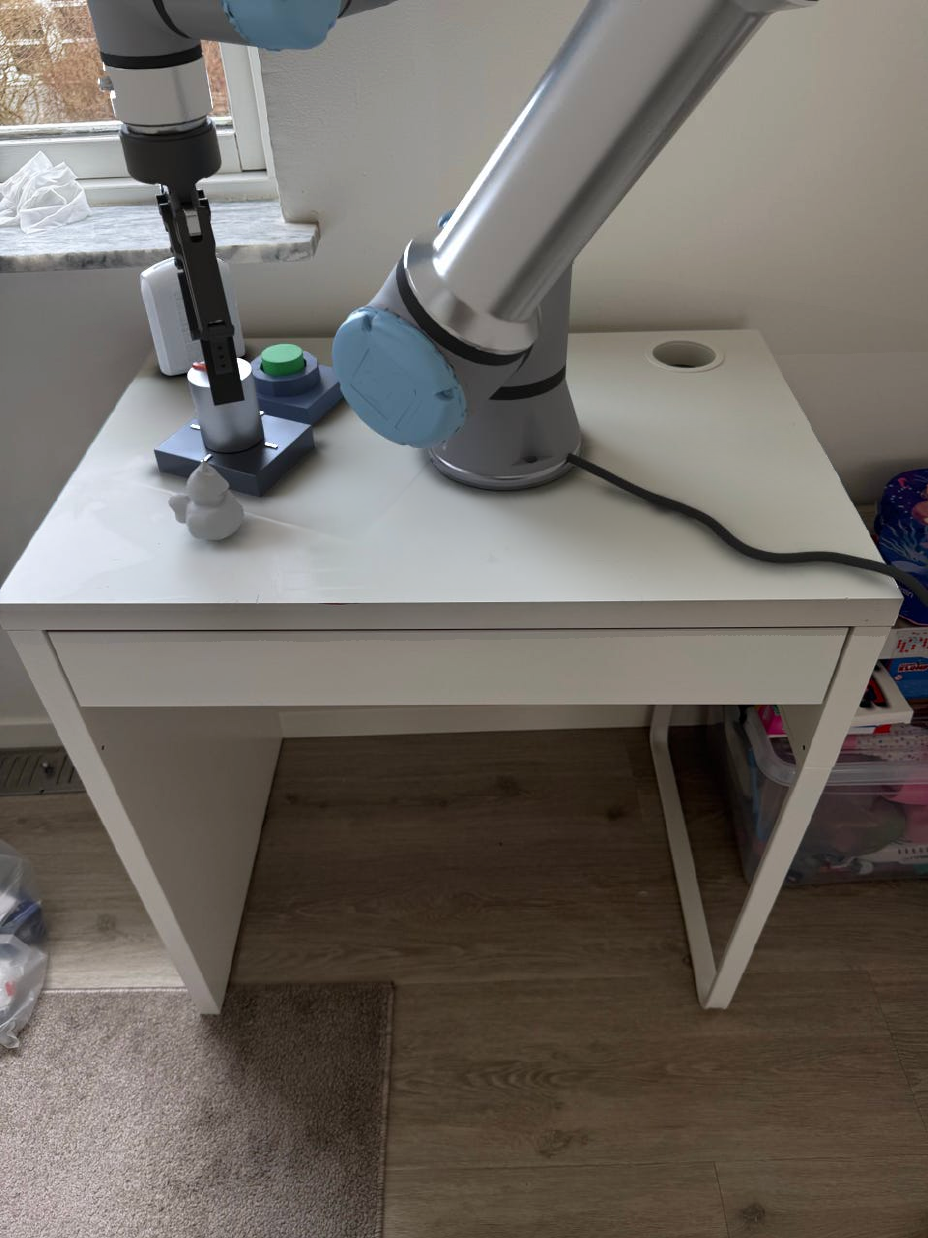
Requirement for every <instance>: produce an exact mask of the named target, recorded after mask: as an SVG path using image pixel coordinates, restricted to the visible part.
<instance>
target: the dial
mask: <svg viewBox="0 0 928 1238" xmlns="http://www.w3.org/2000/svg"><path fill="white" fill-rule="evenodd" d="M237 361H238V367H239V372H240V377H241V382H242V388H243V393H244V398H245V401H239V402H234V403H228V404H223V405H218V406H214V403H213V399H212V395H211V390H210V385H209V381H208V376H207V371H206V367H205V362H204V361H203V362H201V363H197V362H195V363H194V364H192V367H193V368H191V369H190V371H189V372H187V376H186V377H187V381H188V385H189V390H190V394H191V398H192V403H193V407H194V411H195V415H196V416H197V419H198V423H199V428H200V432H201V436H202V440H203V443H204V445H205V446H206V447H207V448H209V449H210V450H213V451H216V452H223V453H231V452H239V451H243V450H246V449H249V448H251V447H253V446H255V445H256V444H258V443H259V442H260V441H261V440H262V438H263V436H264V429H263V424H262V419H261V414H260V408H259V403H258V398H257V392H256V387H255V382H254V376H253V371H252V367H251V365H250V362H248V360H245V359H242V358H240V357H239V358H237Z"/></svg>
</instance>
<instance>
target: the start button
mask: <svg viewBox="0 0 928 1238" xmlns="http://www.w3.org/2000/svg"><path fill="white" fill-rule="evenodd" d="M302 351H303V349H302V348H301V347H300V346H299V345H296V344H291V343H278V344H274V345H270V346H268V347H266V348H265V349H263V350H262V351H261V353H260V355H261V359H262V365H263V370H264V372H265V374H268V375H273V376H287V375H291V374H294V373H297V372H300V371H301V370H302V369H304V359H303V352H302Z"/></svg>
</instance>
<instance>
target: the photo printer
mask: <svg viewBox="0 0 928 1238" xmlns="http://www.w3.org/2000/svg"><path fill="white" fill-rule="evenodd" d="M174 258H175V257H174V256H172V257H169V258H166V259H164V260H161V261H160V262H157V263H155V264H154V265H152V266H150V267H148V268H147V269H145V270H143V271H142V272H141V273H140V275H139V280H140V291H141V295H142V299H143V303H144V307H145V311H146V315H147V320H148V322H149V327H150V331H151V332H150V333H151V335H152V340H153V344H154V349H155V353H156V357H157V360H158V364H159V368H160V371H161V373H162V374H164V375H166V376H170V377H171V376H177V375H182V374H187V373H188V372H189V371H190V369H191V368H193V367H192V364H194V363H195V362H197V363H201V362H203V361H204V357H203V353H202V348H201V344H200V340H195V341H192V338H191V334H190V330H189V325H188V321H187V316H186V312H185V307H184V303H183V298H182V294H181V289H180V285H179V280H178V276H177V273H179V272H183V270H177V267H176V266H175V264H174ZM217 261H218V265H219V270H220V274H221V279H222V283H223V287H224V292H225V296H226V300H227V305H228V309H229V313H230V318H231V322H232V325H234V328H235V331H234V332H235V334H234V336H233V340H234V346H235V351H236V356H237V358H239V359H240V358H241V357H244V356H245V354H246V349H245V342H244V337H243V332H242V326H241V321H240V316H239V310H238V309H239V308H238V304H237V298H236V292H235V288H234V282H233V281H234V280H233V276H232V273H231V270H230V269H231V268H230V266H229V264H228V262H227V263H223V262H224V261H222V260H221V259H219V258H217ZM218 321H222V320H218Z"/></svg>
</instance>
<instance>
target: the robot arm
mask: <svg viewBox="0 0 928 1238" xmlns="http://www.w3.org/2000/svg"><path fill="white" fill-rule="evenodd" d="M397 1H399V0H86V3H87V7H88V11H89V16H90V19H91V23H92V27H93V31H94V36H95V39H96V44H97V48H98V52H99V57H100V60H101V62H102V65H103V71H104V72H105V74H106V75H105V76H102V77H99V78H97V79H98V80H97V85H98V89H99V90H101V91H102V92H110V100H111V105H112V108H113V113H114V117H115V119H116V120H118V121H119V122H121V123H122V124H121V125H120V127H119V129H118V132H117V134H118V138H119V141H120V145H121V150H122V154H123V155H122V156H123V159H124V162H125V168H126V171H127V173H128V175H129V176H130V177H131V178H132V179H134V180H135V181H137V182H139V183H142V184H145V185H151V186H155V185H158V187H159V191H160V193H159V194H155V195H154V196H155V200H156V201H155V202H156V205H157V210H158V212H159V215H160V216H161V219H162V223H163V226H164V231H165V232H167V233H168V237H169V243H170V244H169V245H170V246H169V251H170V253H171V254H172V257H175V258H174V264H175V266H176V267H177V270H183V272H179V273H177V276H178V280H179V285H180V289H181V294H182V298H183V303H184V307H185V312H186V316H187V321H188V325H189V330H190V334H191V338H192V341H195V340H200V344H201V348H202V353H203V357H204V362H205V367H206V371H207V376H208V381H209V385H210V390H211V395H212V399H213V403H214V406H218V405H223V404H228V403H234V402H239V401H245V398H244V393H243V388H242V382H241V377H240V372H239V367H238V361H237V356H236V351H235V346H234V340H233V336H234V334H235V332H234V331H235V328H234V325H232V322H231V318H230V313H229V309H228V305H227V300H226V296H225V292H224V287H223V283H222V279H221V274H220V270H219V265H218V261H217V257H216V254H217V253H216V252H217V243H216V242H217V241H216V239H215V234H214V231H213V227H212V223H211V222H212V210H211V206H210V202H209V199H208V197H206V196H205V192H204V189H203V188H197V183H198V182H200V181H201V180H203V179H208V178H210V177H212V176H214V175H215V174H218V172H219V171H220V170H221V167H222V165H223V164H222V161H223V160H222V154H221V149H220V143H219V138H218V133H217V126H216V122H215V121H214V120H213V119H212V118H211V117H210V116H209V115H210V114H211V113H212V111H213V110H214V105H213V100H212V99H213V98H212V93H211V88H210V87H211V86H210V82H209V81H210V80H209V75H208V71H207V64H206V60H205V54H204V52H203V46H202V41H208V42H216V43H222V44H223V43H224V44H232V45H237V46H245V47H251V48H252V47H253V48H258V49H265V50H266V51H268V52H277V53H280V52H281V51H284V50H296V51H297V50H298V51H307V50H313V49H315V48H317V47H319V46H320V45H322V44H323V43H324V42H325V41H326V40H327V37H328V33H329V31H330V30H331V29H333V28H334V27H335V25H336V24H337V21H338V20H340V19H343V18H347V17H350V16H353V15H356V14H360V13H363V12H366V11H372V10H375V9H379V8H382V7H386V6H388V5H391V4H393V3H395V2H397ZM819 2H820V0H588V1H587V3H586V5H585V6H584V8H583V9H582V11H581V13H580V14H579V15H578V17H577V19H576V20H575V22H574V23H573V25H572V26H571V27H570V29H569V31H568V33H567V34H566V35H565V37H564V39H563V40H562V42H561V44H560V45H559V47H558V48H557V50H556V52H555V53H554V55H553V57H552V58H551V59H550V60H549V63H548V64H547V66H546V67H545V69H544V71H543V72H542V74H541V75H540V77H539V78H538V80H537V81H536V82H535V85H534V86H533V88H532V89H531V91H530V92H529V94H528V95H527V97H526V99H525V100H524V102H523V103H522V104H521V107H520V108H519V110H518V111H517V113H516V114H515V116H514V117H513V119H512V121H511V122H510V123H509V125H508V127H507V129H506V130H505V131H504V133H503V135H502V136H501V137H500V140H499V141H498V142H497V144H496V146H495V147H494V149H493V151H492V152H491V153H490V155H489V156H488V158H487V160H486V162H485V163H484V164H483V166H482V168H481V169H480V170H479V172H478V174H477V176H476V177H475V179H474V180H473V182H472V184H471V185H470V186H469V188H468V189H467V191H466V193H465V194H464V196H463V198H462V199H461V201H460V202H459V204H458V205H457V207H456V208H453V209H450V210H448V211H445V212H444V213H443V214H442V215H441V216H440V217H439V219H438V222H437V226H431V227H428V228H425V229H423V230H421V231H419V232H418V233H416V234H415V236H414V237H413V238H412V239H410V241H409V243H408V244H407V246H406V248H405V249H404V251H403V252H402V254H401V256H400V257H399V258H398V260H397V262H396V264H395V265H394V267H393V269H392V270H391V271H390V273H389V275H388V277H387V278H386V280H385V281H384V283H383V285H382V286H381V288H380V289H379V291H378V292H377V293H376V294H375V296H374V297H373V298H372V299H371V300H370V301H369V302H368V303H367V304H366V305H364V306H362V307H358V308H356V309H355V310H353V312H351V313H350V314H349V315H348V317H347V318H346V320H345V321H344V322H343V323H342V324H341V325H340V327H339V328H338V329H337V331H336V333H335V335H334V338H333V343H332V348H331V361H332V367H333V368H334V373H335V376H336V377H337V379H338V381H339V382H340V384H341V386H340V389H341V391H342V393H343V395H344V397H343V398H344V399H345V401H346V402H347V404H348V405H349V407H350V408H351V409H352V411H353V412H354V413H355V414H356V416H357V417H358V418H359V419H360V420H361V421H362V422H363V423H364V424H365V425H366V426H367V427H368V428H369V429H370V430H372V431H373V432H375V433H376V434H377V435H379V436H380V437H383V439H385V440H387V441H390V442H391V443H394V444H395V445H400V446H403V447H404V446H410V447H411V448H413V449H427V448H428V456H429V458H430V461H431V462H432V464H433V466H434V467H435V468H436V469H437V470H438V471H439V472H440V473H442V474H443V475H444V476H445V477H448V478H450V479H452V480H454V481H456V482H457V483H461V484H463V485H467V486H470V487H474V488H479V489H485V490H495V491H514V490H522V489H528V488H533V487H538V486H542V485H544V484H547V483H550V482H552V481H555V480H557V479H559V478H560V477H562V476H563V475H565V474H567V473H568V472H569V471H570V470H571V469H572V468H573V467H574V466H575V467H578V468H580V469H582V470H584V471H585V472H587V473H590V474H592V475H593V476H596V477H598V478H600V479H602V480H604V481H606V482H608V483H610V484H611V485H614V486H615V487H617V488H620V489H622V490H623V491H625V492H627V493H629V494H630V495H633V496H636V497H638V498H640V499H642V500H645V501H647V502H649V503H653V504H654V505H657V506H660V507H664V508H667V509H669V510H672V511H675V512H678V513H679V514H683V515H685V516H687V517H689V518H691V519H694V520H696V521H698V522H700V523H701V524H703V525H704V526H706V527H708V529H710V530H711V531H712V532H714V534H716V535H717V537H719V538H720V539H721V540H722V541H723V542H724V543H725V544H727V545H728V546H729V547H730V548H732V549H733V550H735V551H736V552H738V553H739V554H741V555H744V556H746V557H749V558H751V559H754V560H757V561H761V562H766V563H771V564H799V563H813V562H814V563H815V562H816V563H818V562H819V563H820V562H821V563H822V562H823V563H825V562H826V563H835V564H841V565H845V566H850V567H854V568H857V569H861V570H862V569H863V570H868V571H871V572H874V573H878V574H881V575H884V576H887V577H889V578H892V579H894V580H896V581H898V582H899V583H901V584H903V585H904V586H906V587H907V588H908V589H909V590H911V592H912V593H914V595H915V596H916V597H917V598H918V599H919V601H920V602H921V604H922V605H924V606H925V607H926V608H928V589H927V588H926V587H925V586H924V585H923V584H922V583H921V582H920V581H919V580H918V579H917V578H915V576H913V575H911V574H910V573H908V572H906V571H905V570H903V569H901V568H899V567H896V566H895V565H891V564H888V563H885V562H882V561H877V560H874V559H870V558H865V557H860V556H855V555H850V554H847V553H841V552H837V551H836V552H835V551H824V550H823V551H822V550H819V551H817V550H815V551H800V552H799V551H798V552H772V551H767V550H764V549H763V550H762V549H759V548H756V547H753V546H751V545H749V544H747V543H745V542H744V541H742V540H740V539H739V538H738V537H736V536H735V535H733V533H731V532H730V531H729V530H728V529H727V528H726V527H725V526H724V525H723V524H721V523H720V522H719V521H717V519H715V518H714V517H712V516H711V515H709V514H707V513H705V512H704V511H702V510H699V509H698V508H696V507H694V506H690V505H689V504H686V503H683V502H680V501H678V500H675V499H672V498H669V497H666V496H663V495H661V494H658V493H655V492H652V491H650V490H648V489H645V488H643V487H641V486H639V485H637V484H634V483H633V482H630V481H628V480H627V479H625V478H623V477H621V476H619V475H617V474H615V473H613V472H611V471H609V470H606V469H605V468H604V467H601V466H599V465H597V464H595V463H593V462H590V461H589V460H587V459H584V458H582V457H580V453H581V444H582V442H581V441H582V432H581V427H580V422H579V419H578V415H577V413H576V408H575V406H574V405H575V404H574V402H573V399H572V396H571V393H570V389H569V386H568V383H567V378H566V377H567V360H568V359H567V358H568V346H569V345H568V343H569V326H570V311H571V310H570V309H571V297H572V296H571V293H572V279H573V278H572V277H573V265H575V259H576V258H577V257H578V256H579V255H580V253H581V252H582V251H583V249H584V248H585V247H586V246H587V245H588V243H589V242H590V241H591V239H592V238H593V237H594V236H595V234H596V233H597V232H598V231H599V230H600V228H601V227H602V226H603V225H604V223H605V222H606V221H607V220H608V218H609V217H610V216H611V215H612V213H613V212H614V211H615V210H616V208H617V207H618V206H619V205H620V203H621V202H622V201H623V200H624V198H625V197H626V196H627V195H628V194H629V192H630V191H631V190H632V188H633V187H634V186H635V185H636V184H637V182H638V181H639V180H640V178H642V176H643V175H644V174H645V172H646V171H647V170H648V168H650V166H651V165H652V163H653V162H654V161H655V160H656V158H658V156H659V155H660V154H661V152H662V151H663V150H664V148H665V147H666V146H667V145H668V144H669V143H670V141H671V140H672V139H673V137H674V136H675V135H676V134H677V133H678V132H679V130H680V129H681V127H682V126H684V124H685V122H687V120H688V118H689V117H690V116H691V115H692V114H693V112H694V111H695V110H696V109H697V108H698V107H699V105H700V104H701V103H702V101H703V100H704V99H705V98H706V96H707V95H708V94H709V92H711V90H712V89H713V87H714V86H715V85H716V84H717V83H718V82H719V80H720V79H721V78H722V76H723V75H724V74H725V73H726V72H727V70H728V69H729V68H730V66H731V65H732V64H733V63H734V61H735V60H737V58H738V56H739V55H741V52H742V51H743V50H744V49H745V48H746V46H747V45H748V44H749V43H750V41H752V39H753V38H754V37H755V35H756V34H757V33H758V31H760V29H761V28H762V27H763V25H764V24H765V23H766V22H767V20H768V19H769V18H770V16H772V15H773V14H775V13H778V12H784V11H790V10H791V11H792V10H796V9H797V10H798V9H805V8H811V7H814V6H816V5H817V4H818V3H819ZM218 320H222V321H218Z"/></svg>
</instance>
